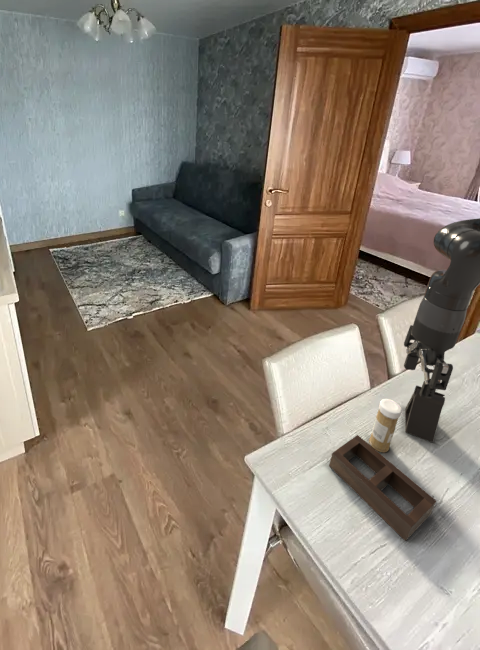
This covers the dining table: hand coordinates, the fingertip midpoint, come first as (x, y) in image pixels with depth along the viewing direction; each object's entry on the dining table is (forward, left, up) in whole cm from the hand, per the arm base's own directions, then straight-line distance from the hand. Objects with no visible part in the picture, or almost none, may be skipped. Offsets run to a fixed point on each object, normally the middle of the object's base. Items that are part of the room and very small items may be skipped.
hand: (416, 381), depth 76 cm
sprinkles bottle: (0, -3, -24) cm, 24 cm away
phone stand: (-15, -1, -24) cm, 28 cm away
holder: (+11, +3, -24) cm, 26 cm away
